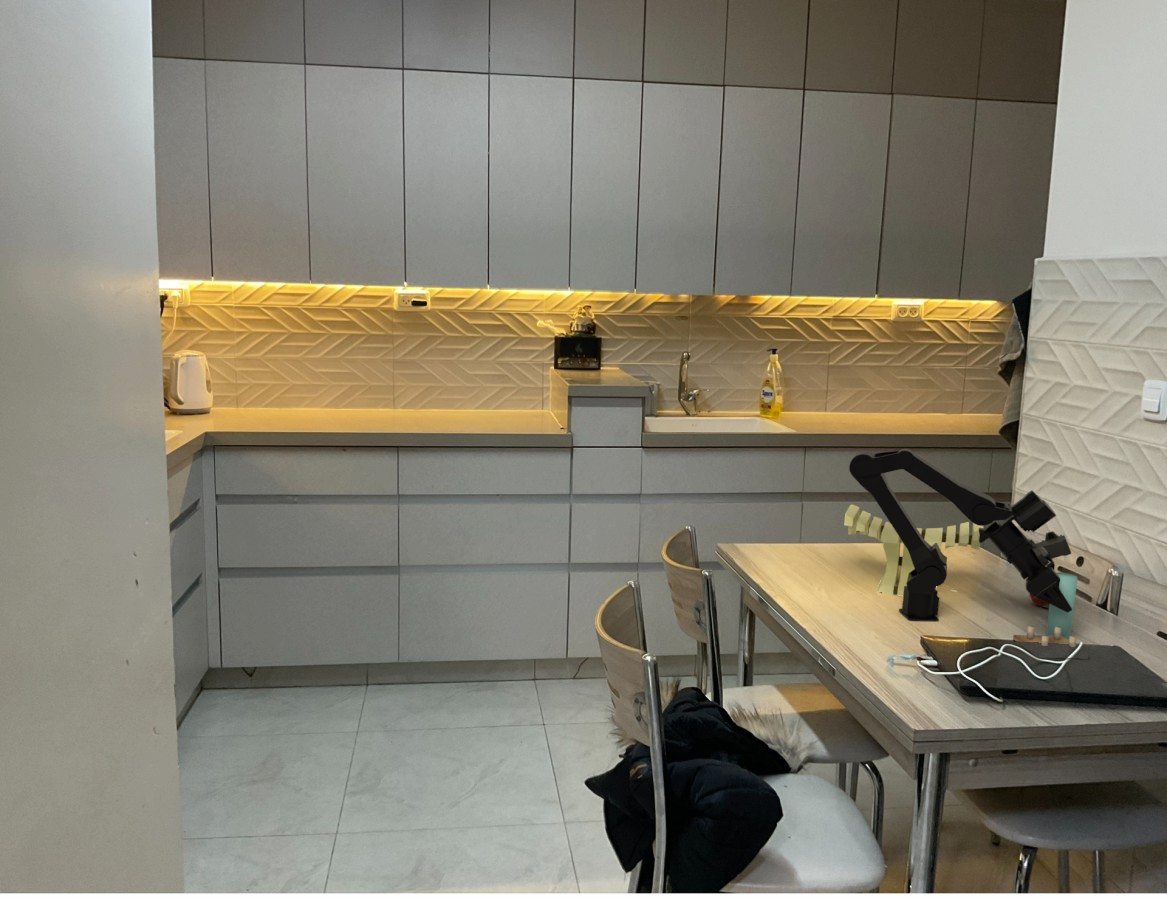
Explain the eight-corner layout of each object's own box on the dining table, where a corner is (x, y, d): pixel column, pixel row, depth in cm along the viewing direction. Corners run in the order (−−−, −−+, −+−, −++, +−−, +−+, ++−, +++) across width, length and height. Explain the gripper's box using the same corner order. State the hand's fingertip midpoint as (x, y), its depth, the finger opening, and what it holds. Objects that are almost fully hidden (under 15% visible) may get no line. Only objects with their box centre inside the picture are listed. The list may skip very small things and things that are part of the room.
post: (1053, 640, 198) (1060, 578, 196) (1041, 632, 202) (1048, 572, 200) (1074, 640, 198) (1082, 578, 196) (1062, 633, 202) (1070, 572, 200)
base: (1037, 658, 187) (1039, 639, 186) (1012, 640, 197) (1014, 622, 196) (1088, 659, 187) (1090, 641, 187) (1061, 641, 197) (1063, 624, 196)
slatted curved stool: (974, 587, 234) (982, 515, 231) (975, 606, 219) (983, 528, 216) (846, 571, 244) (852, 501, 242) (839, 587, 230) (845, 513, 227)
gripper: (1051, 531, 189) (1108, 593, 187) (1044, 513, 207) (1096, 570, 204) (1003, 565, 193) (1059, 626, 191) (1000, 544, 211) (1051, 601, 208)
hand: (1067, 604), depth 199 cm, fingers open, 9 cm apart
